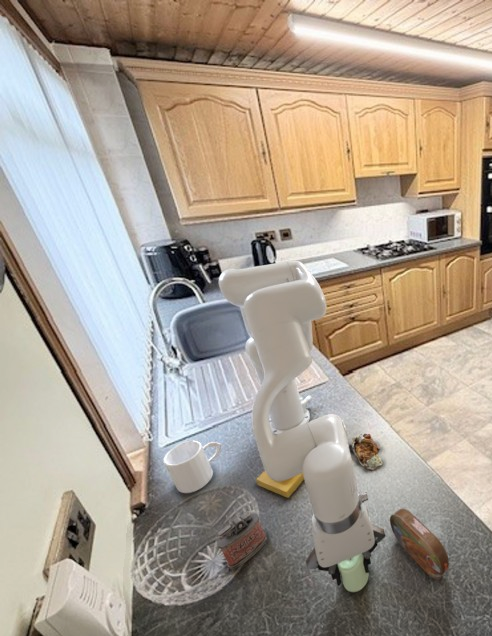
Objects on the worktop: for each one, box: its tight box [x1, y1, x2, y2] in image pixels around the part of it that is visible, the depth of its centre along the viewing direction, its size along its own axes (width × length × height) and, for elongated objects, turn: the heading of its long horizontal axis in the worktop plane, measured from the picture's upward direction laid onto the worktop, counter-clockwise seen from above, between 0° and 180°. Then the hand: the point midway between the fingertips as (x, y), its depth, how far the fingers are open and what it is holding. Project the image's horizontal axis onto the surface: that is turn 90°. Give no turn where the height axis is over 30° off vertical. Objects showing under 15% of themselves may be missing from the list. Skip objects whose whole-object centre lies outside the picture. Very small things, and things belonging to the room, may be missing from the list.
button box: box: [255, 470, 305, 499], centre depth 90 cm, size 10×10×4 cm
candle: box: [337, 553, 370, 593], centre depth 66 cm, size 5×5×8 cm
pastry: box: [348, 433, 384, 470], centre depth 95 cm, size 7×12×4 cm, turn 39°
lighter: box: [216, 510, 268, 570], centre depth 71 cm, size 8×3×10 cm, turn 141°
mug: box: [162, 440, 222, 494], centre depth 89 cm, size 8×12×10 cm
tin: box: [389, 508, 450, 580], centre depth 70 cm, size 15×3×8 cm, turn 45°
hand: (352, 570), depth 67 cm, fingers closed on candle, 4 cm apart
